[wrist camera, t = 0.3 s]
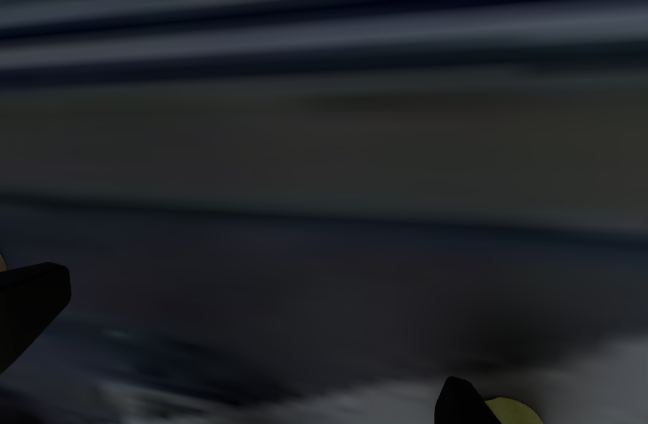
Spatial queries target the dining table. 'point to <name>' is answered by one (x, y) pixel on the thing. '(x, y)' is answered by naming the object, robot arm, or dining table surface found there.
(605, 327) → the dining table surface
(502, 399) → the plant pot
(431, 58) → the dining table surface
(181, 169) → the dining table surface
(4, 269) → the dowel
